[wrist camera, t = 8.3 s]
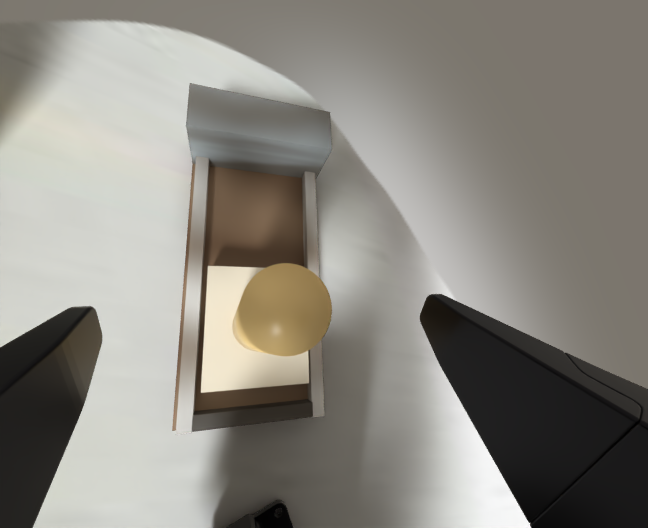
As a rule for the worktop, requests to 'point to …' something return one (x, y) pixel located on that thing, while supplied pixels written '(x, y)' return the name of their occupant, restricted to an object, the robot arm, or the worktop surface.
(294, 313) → the rail carriage
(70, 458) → the worktop surface
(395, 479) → the worktop surface
